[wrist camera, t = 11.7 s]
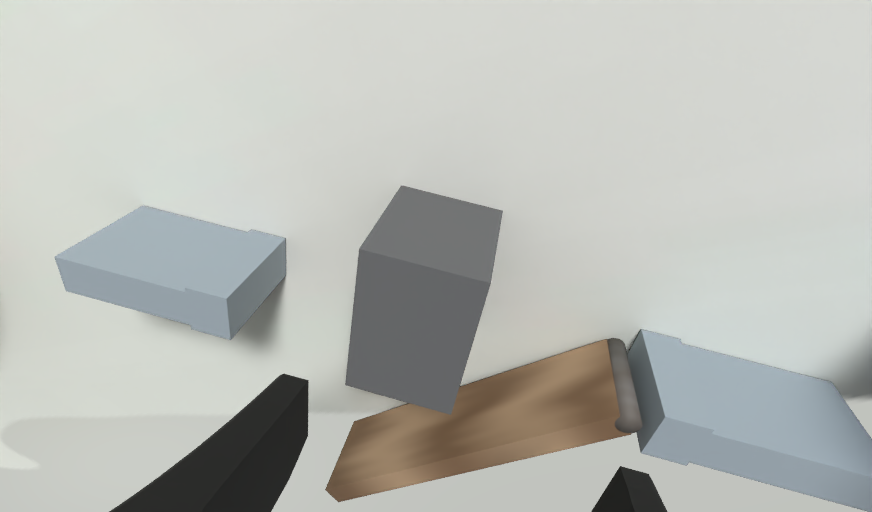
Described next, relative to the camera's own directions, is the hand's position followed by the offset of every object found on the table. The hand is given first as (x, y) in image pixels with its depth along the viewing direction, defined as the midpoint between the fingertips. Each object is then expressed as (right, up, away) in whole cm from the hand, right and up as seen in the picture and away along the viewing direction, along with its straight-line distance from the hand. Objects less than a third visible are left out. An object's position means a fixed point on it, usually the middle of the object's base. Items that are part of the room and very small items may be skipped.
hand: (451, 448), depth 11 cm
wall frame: (0, +3, +10) cm, 10 cm away
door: (+1, -2, +12) cm, 12 cm away
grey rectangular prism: (0, +4, +9) cm, 10 cm away
